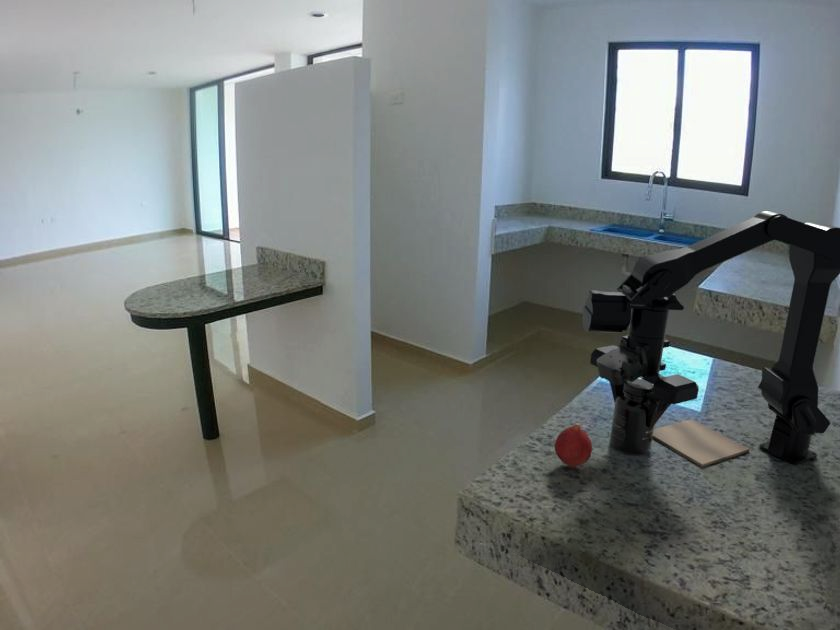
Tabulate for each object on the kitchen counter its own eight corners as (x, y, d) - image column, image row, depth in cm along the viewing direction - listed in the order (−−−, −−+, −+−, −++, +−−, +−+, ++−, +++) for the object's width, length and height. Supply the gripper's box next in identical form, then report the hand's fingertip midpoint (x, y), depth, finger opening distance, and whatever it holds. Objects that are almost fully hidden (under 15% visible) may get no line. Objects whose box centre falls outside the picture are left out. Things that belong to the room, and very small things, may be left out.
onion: (550, 471, 93) (554, 427, 90) (556, 454, 98) (560, 412, 95) (587, 480, 90) (592, 435, 88) (591, 462, 96) (596, 419, 93)
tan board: (691, 421, 110) (691, 419, 110) (748, 451, 100) (749, 449, 100) (645, 433, 105) (646, 431, 105) (701, 467, 95) (702, 464, 95)
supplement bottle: (653, 458, 97) (664, 394, 93) (611, 453, 98) (620, 390, 95) (646, 438, 103) (656, 377, 100) (607, 434, 105) (615, 373, 101)
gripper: (571, 322, 99) (562, 403, 104) (656, 359, 83) (641, 454, 88) (619, 315, 104) (608, 393, 109) (708, 349, 88) (691, 439, 93)
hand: (634, 417), depth 99 cm, fingers closed on supplement bottle, 7 cm apart
